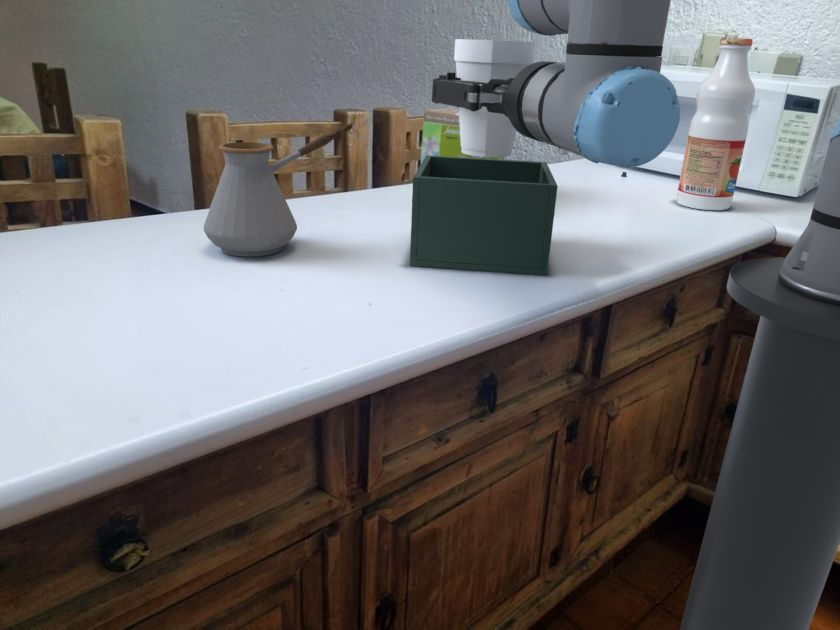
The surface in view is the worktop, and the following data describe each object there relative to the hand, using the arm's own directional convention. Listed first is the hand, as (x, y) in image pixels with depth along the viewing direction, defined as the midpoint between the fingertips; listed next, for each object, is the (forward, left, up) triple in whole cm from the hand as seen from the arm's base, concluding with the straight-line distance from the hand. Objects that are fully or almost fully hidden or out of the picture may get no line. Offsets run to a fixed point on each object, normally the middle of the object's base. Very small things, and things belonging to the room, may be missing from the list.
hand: (479, 87), depth 83 cm
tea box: (+22, -23, -20) cm, 38 cm away
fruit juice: (-10, -53, -20) cm, 57 cm away
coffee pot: (+14, +20, -20) cm, 32 cm away
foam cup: (-4, +2, -8) cm, 9 cm away
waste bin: (-4, +2, -20) cm, 21 cm away
